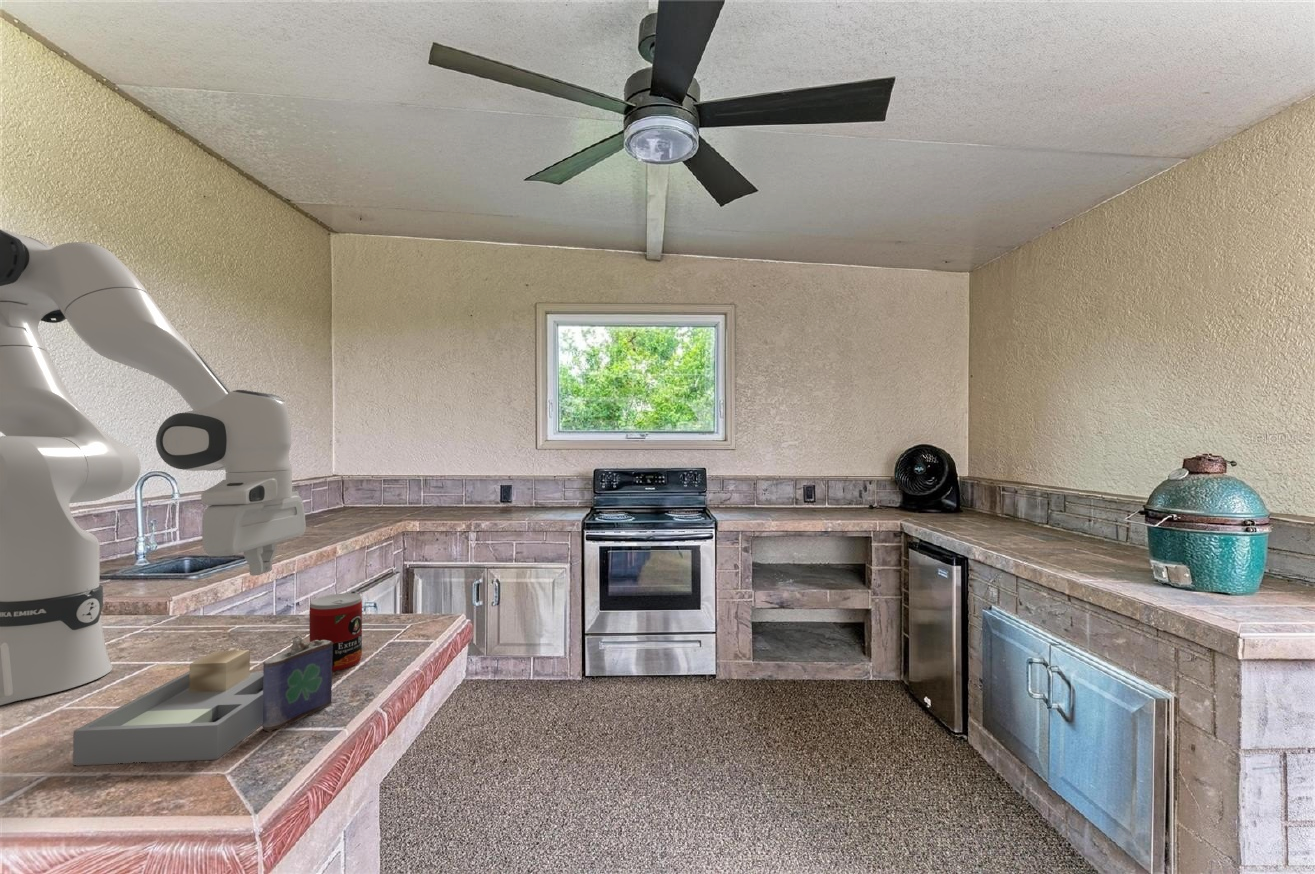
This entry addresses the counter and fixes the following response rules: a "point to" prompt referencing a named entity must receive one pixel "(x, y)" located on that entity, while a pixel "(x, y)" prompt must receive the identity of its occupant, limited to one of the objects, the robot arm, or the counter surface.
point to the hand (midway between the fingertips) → (261, 573)
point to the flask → (297, 683)
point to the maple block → (219, 671)
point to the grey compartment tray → (173, 725)
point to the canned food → (338, 626)
